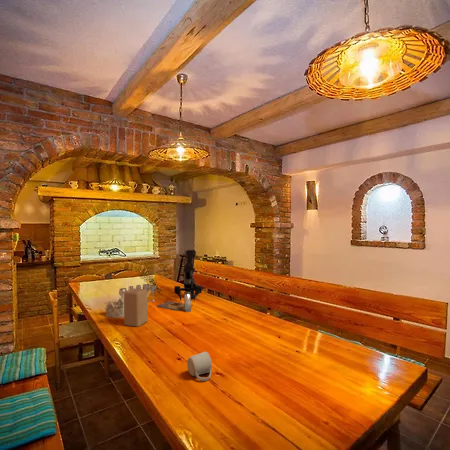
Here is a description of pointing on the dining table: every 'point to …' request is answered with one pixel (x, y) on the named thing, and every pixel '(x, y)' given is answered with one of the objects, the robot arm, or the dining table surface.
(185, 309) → the shiny metal cylinder
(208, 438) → the dining table surface
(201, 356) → the ceramic mug
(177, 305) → the dark grey flat slab
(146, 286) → the goblet set
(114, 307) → the ceramic cottage
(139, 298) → the wooden block
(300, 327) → the dining table surface
